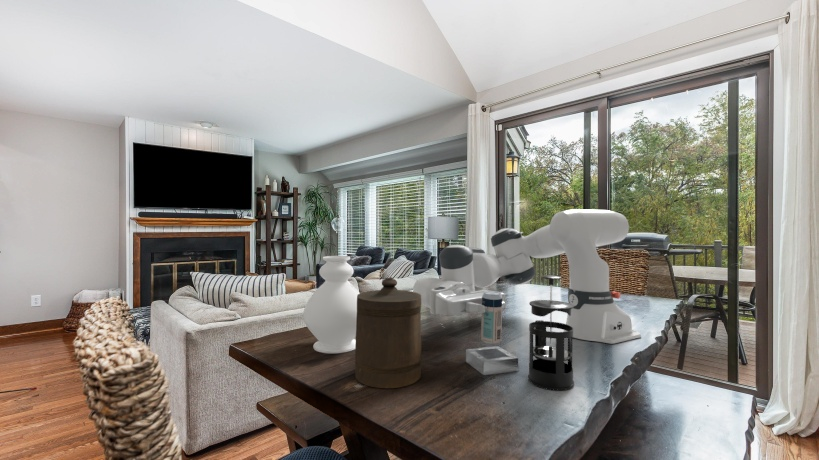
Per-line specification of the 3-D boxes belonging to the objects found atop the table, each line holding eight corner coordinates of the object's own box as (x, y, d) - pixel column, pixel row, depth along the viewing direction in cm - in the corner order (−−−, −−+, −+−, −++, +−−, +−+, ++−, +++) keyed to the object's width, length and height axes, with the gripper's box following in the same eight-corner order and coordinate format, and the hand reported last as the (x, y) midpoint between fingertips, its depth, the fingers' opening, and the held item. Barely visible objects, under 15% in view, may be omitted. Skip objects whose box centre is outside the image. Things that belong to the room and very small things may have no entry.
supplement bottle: (499, 339, 92) (500, 291, 91) (502, 346, 87) (504, 295, 87) (479, 338, 92) (481, 290, 92) (481, 345, 87) (483, 294, 87)
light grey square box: (497, 357, 95) (497, 346, 95) (518, 370, 86) (518, 357, 86) (465, 361, 92) (466, 349, 92) (483, 375, 84) (483, 362, 84)
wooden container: (425, 365, 90) (425, 274, 90) (415, 392, 75) (415, 283, 75) (366, 361, 92) (366, 273, 92) (345, 386, 78) (345, 281, 78)
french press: (584, 391, 76) (585, 279, 75) (539, 393, 75) (540, 279, 75) (557, 369, 87) (558, 272, 87) (518, 370, 87) (519, 272, 86)
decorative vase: (377, 351, 100) (377, 258, 100) (310, 361, 92) (310, 260, 92) (357, 333, 116) (357, 253, 116) (298, 341, 108) (298, 255, 108)
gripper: (482, 305, 106) (522, 315, 95) (425, 315, 94) (463, 327, 83) (482, 283, 106) (522, 290, 94) (425, 290, 94) (464, 299, 83)
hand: (494, 307), depth 88 cm, fingers closed on supplement bottle, 5 cm apart
